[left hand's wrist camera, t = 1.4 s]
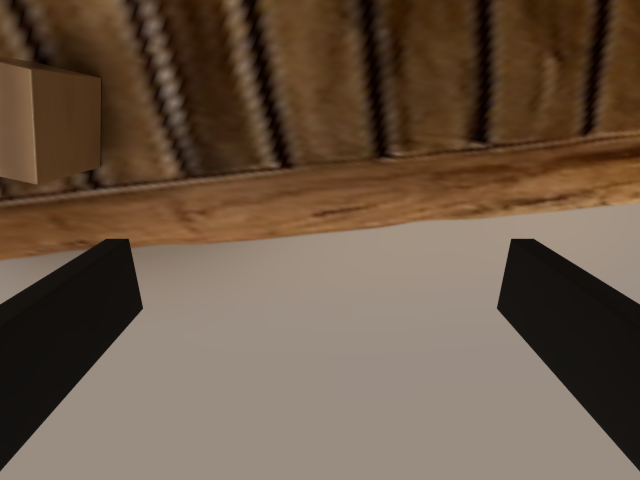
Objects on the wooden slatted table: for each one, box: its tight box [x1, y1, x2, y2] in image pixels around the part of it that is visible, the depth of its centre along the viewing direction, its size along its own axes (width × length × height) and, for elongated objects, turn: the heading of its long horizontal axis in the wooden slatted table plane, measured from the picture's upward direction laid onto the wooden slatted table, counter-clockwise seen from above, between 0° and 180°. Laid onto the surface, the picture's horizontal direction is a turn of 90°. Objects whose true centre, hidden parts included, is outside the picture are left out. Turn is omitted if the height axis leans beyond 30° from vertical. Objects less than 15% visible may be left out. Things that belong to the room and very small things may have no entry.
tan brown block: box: [0, 57, 101, 184], centre depth 26 cm, size 5×7×7 cm
